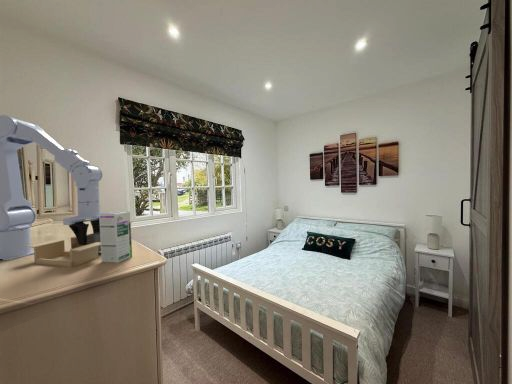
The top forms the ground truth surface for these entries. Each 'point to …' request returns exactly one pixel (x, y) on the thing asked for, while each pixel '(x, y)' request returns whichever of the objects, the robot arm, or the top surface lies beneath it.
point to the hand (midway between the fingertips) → (90, 242)
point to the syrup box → (115, 236)
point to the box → (90, 239)
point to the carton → (63, 253)
